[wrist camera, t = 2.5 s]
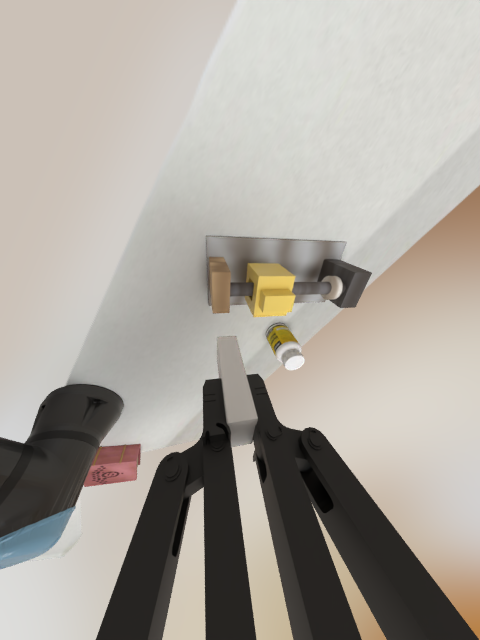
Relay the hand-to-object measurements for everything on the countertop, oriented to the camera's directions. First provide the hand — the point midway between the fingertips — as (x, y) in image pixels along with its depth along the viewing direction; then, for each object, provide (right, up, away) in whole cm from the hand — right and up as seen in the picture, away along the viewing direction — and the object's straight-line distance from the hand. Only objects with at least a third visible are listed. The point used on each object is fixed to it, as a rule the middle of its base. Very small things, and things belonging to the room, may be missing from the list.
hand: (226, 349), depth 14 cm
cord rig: (+8, +11, +18) cm, 23 cm away
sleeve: (+5, +9, +14) cm, 17 cm away
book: (-40, -42, +43) cm, 72 cm away
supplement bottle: (+10, 0, +27) cm, 28 cm away
